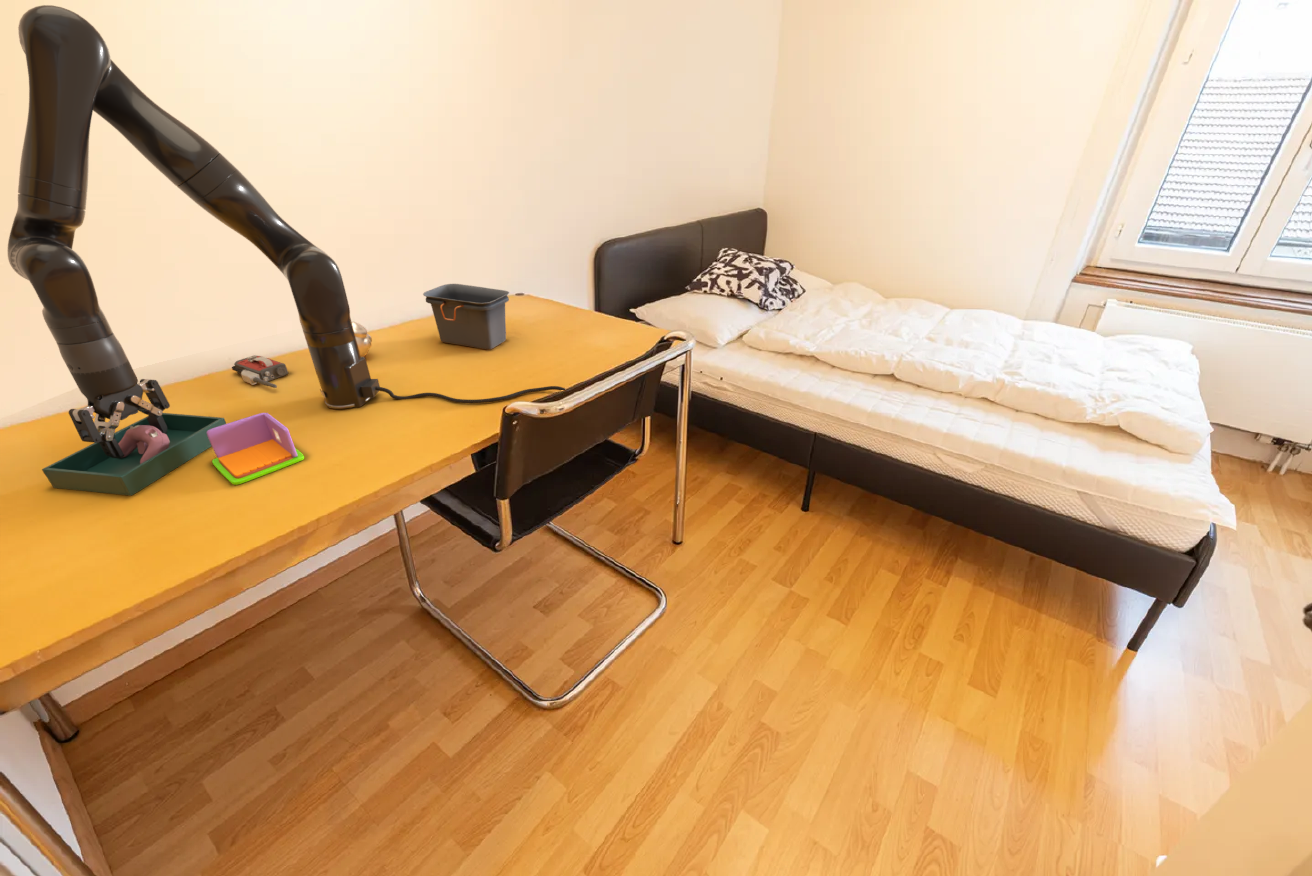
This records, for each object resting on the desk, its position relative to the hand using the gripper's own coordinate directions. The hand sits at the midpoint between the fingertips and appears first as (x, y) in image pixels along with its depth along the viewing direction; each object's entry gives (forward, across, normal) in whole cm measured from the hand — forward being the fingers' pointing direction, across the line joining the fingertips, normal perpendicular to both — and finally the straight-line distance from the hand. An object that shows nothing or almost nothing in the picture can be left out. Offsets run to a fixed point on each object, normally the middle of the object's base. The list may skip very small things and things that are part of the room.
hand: (140, 445), depth 103 cm
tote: (+3, 0, 0) cm, 3 cm away
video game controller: (+3, 0, 0) cm, 3 cm away
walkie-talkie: (+3, +37, +5) cm, 37 cm away
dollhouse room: (+3, +3, -21) cm, 21 cm away
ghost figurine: (+3, +52, -9) cm, 52 cm away
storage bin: (+3, +68, -34) cm, 76 cm away
